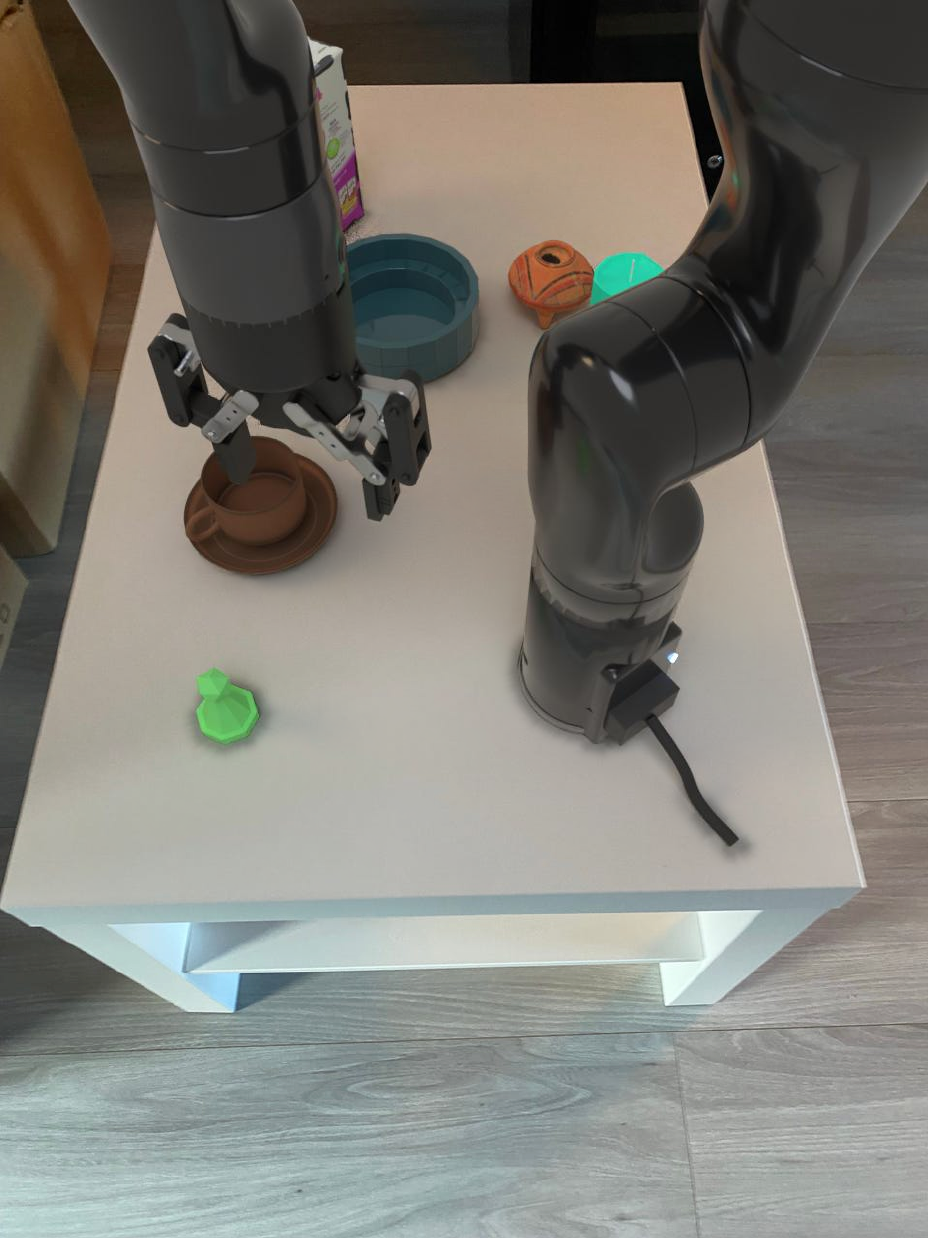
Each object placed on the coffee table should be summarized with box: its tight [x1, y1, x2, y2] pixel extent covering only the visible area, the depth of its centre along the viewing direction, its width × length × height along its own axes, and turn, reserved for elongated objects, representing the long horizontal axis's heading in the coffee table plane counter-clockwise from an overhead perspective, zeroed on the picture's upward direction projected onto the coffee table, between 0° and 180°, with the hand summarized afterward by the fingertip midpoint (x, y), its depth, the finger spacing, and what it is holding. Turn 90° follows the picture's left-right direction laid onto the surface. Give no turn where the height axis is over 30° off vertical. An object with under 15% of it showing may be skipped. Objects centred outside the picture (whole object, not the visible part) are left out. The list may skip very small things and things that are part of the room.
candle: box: [589, 251, 665, 306], centre depth 79 cm, size 6×6×12 cm
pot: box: [507, 239, 595, 330], centre depth 86 cm, size 8×8×7 cm
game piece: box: [195, 666, 260, 745], centre depth 65 cm, size 4×4×6 cm
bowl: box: [346, 232, 480, 383], centre depth 85 cm, size 15×15×5 cm
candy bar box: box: [307, 35, 365, 234], centre depth 87 cm, size 11×5×16 cm, turn 148°
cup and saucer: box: [183, 435, 339, 575], centre depth 73 cm, size 12×12×6 cm
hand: (312, 490), depth 55 cm, fingers open, 8 cm apart
